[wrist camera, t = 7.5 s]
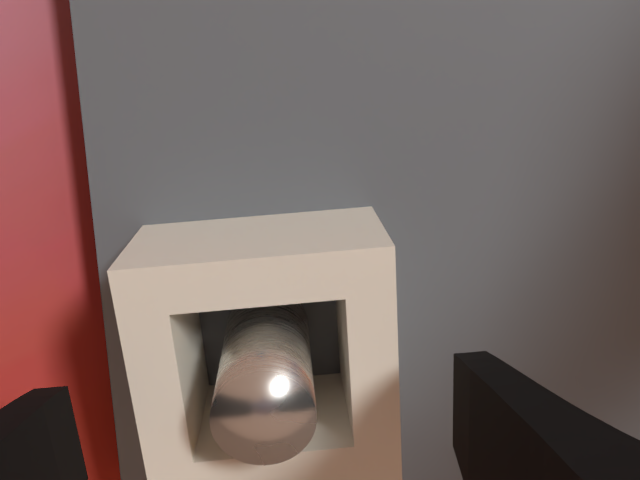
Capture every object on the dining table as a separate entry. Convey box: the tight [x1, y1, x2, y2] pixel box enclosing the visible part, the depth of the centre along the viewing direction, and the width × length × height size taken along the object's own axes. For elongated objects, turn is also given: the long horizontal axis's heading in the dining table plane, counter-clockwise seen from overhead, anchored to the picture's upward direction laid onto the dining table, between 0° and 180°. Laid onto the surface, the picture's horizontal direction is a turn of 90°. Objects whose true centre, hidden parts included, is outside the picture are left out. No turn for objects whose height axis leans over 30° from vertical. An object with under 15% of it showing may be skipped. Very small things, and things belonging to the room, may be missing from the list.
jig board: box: [69, 0, 640, 480], centre depth 14 cm, size 16×23×1 cm
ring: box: [107, 206, 402, 480], centre depth 13 cm, size 5×5×3 cm
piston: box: [209, 303, 317, 465], centre depth 13 cm, size 2×2×4 cm
